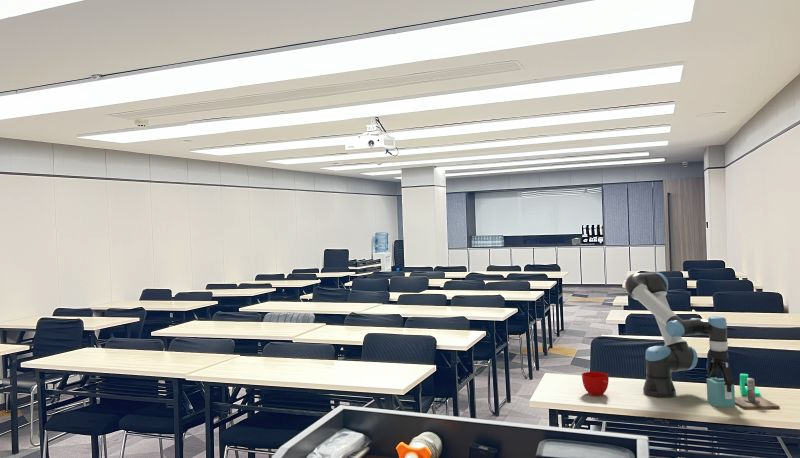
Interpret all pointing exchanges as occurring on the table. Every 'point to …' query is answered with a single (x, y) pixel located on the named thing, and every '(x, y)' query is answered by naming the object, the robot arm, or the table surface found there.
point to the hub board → (755, 405)
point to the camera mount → (744, 389)
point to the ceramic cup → (595, 382)
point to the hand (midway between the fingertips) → (721, 395)
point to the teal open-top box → (719, 393)
